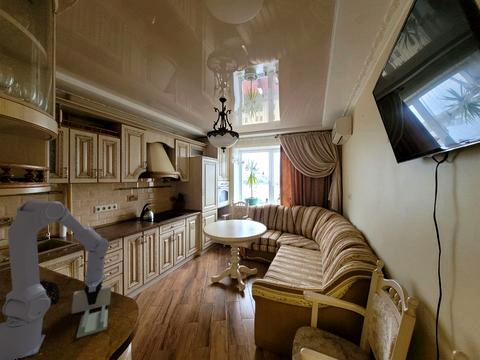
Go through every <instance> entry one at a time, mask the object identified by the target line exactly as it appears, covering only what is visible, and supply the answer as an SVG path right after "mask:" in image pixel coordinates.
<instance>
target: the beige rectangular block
mask: <svg viewBox="0 0 480 360" xmlns="http://www.w3.org/2000/svg"><path fill="white" fill-rule="evenodd" d="M111 294H112V284H108V285H102V288H101V289H100V291H99V293H98V296H97V300H96V303H95V304H93V305H88V299H87V295H86V293H85V292H84V289H82V290H77V291H74V292H73V295H72V297H73V298H72V304H71V314H76V313H80V312H85V311H86V309H89V310H93V309H96V308H102V305H105V307H106V306H110V304H111V296H112V295H111Z"/></svg>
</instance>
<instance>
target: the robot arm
mask: <svg viewBox="0 0 480 360" xmlns="http://www.w3.org/2000/svg"><path fill="white" fill-rule="evenodd" d="M69 210H70V209H69V208H68V207H67V206H66V205H64V204H63V203H62V202H61V201H56V200H50V201H49V200H40V199H31V200H27V201H26V202H25V203H23V204H21V206H18V207H17V208H16V216H15V218H13V220H12V222H11V224H10V226H9V228H8V230H7V237H8V240H7V241H8V252H9V263H10V264H9V265H10V275H11V276H10V277H11V285H12V286H11V287H12V290H11V291H9V292H8V293H7V294H6V295H5V298H6V299H5V302H4V304H3V307H2V310H1V311H2V314H3V315H4V316H5V317H7V320H6V321H5V322H2V323H0V360H15V359H16V360H19V359H18V358H20V359H23V358H27V357H28V356H33V355H36V354H38V352H39V350H40V349H41V345H42V344H43V342H44V340H45V337H46V334H42V328H43V319H44V317H45V315H46V313H47V312H48V311H49V309H50V307H51V305H50V304H51V300H50V298H51V297H50V298H49V295H48V294H46V290H45V289H44V287H43V286H42V285H41V284H40V281H41V280H40V267H39V253H38V252H39V251H38V238H37V234H38V233H39V232H40V231H41V230H43V228H46V227H47V226H49V225H51V224H53V223H55V222H58V223H59V224H61V225H62V226H63V227H65V228H66V229H68V230H69V231H71V232H72V233H73V238H74V239H75V240H76V241H77V242H79V243H80V244H81V245H82V246H84V251H85V252H88V253H87V261H86V271H85V279H84V284H85V286H84V288H83V290H84V292H85V293H86V295H87V299H88V305H93V304H95V303H96V300H97V296H98V293H99V291H100V289H101V288H102V286H103V281H105V280H107V275H104V271H105V260H106V255H107V251H108V249H109V248H110V245H111V243H110V242H109V240H108V239H107V238H103V237H102V235H101V234H100V233H97V232H96V231H95V228H94V227H93V226H89V225H85V226H84V225H83V224H82V223H81V222H80V221H79V220H78V218H76V217H75V216H74V215H73V214H72V213H71V212H70V211H69Z"/></svg>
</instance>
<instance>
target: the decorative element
mask: <svg viewBox="0 0 480 360" xmlns="http://www.w3.org/2000/svg"><path fill="white" fill-rule="evenodd" d="M40 284H41V285H42V286H43V287H44V289H45V290H46V294H47V295H48V297H49V298H50V300H51V304H50V306H51V305H54V304H56V303H58V302H59V300H60V299H61V296H60V288H59V287H58V284H57V283H55V282H54V281H48V280H45V278H42V279H41V280H40Z"/></svg>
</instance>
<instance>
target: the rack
mask: <svg viewBox="0 0 480 360" xmlns="http://www.w3.org/2000/svg"><path fill="white" fill-rule="evenodd" d="M108 317H109V309H108V308H107V309H106V306H105V305H102V307H101V310H100V311H96V312H92V313H90V309H86V310H85V311H84V314H82V315H81V318H80V321H79V325H78V329H77V333H76V339H78V338H82V337H85V336H89V335H92V334H96V333H100V332H102V331H103V332H104V331H106V330H108V329H107V328H108Z"/></svg>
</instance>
